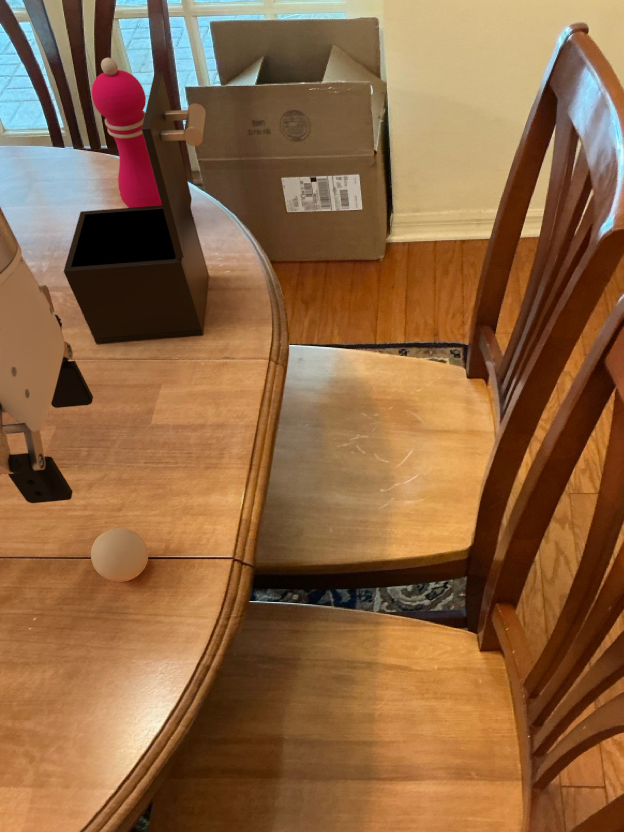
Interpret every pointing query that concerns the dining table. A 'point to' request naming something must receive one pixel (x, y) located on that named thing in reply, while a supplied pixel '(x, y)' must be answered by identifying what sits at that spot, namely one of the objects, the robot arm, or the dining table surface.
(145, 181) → the pepper mill
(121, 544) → the paper ball
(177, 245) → the bin lid
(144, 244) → the waste bin
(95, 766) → the dining table surface
